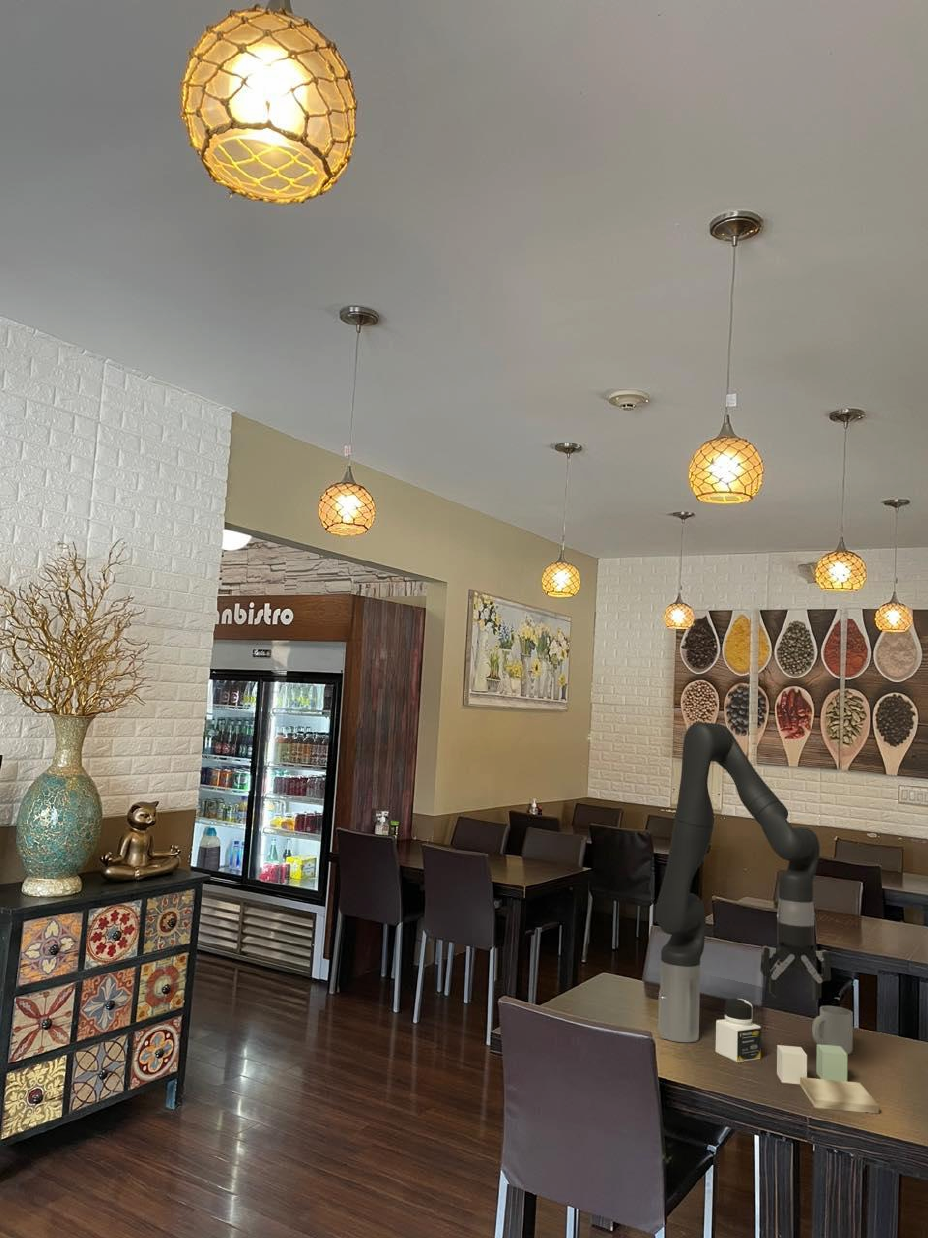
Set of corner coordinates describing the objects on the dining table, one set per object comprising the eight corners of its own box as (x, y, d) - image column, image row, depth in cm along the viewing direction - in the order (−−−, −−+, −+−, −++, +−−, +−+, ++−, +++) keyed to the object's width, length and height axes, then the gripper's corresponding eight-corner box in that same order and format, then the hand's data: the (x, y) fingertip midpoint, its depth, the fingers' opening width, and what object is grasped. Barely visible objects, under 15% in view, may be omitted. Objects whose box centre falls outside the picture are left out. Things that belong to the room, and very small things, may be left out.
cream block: (782, 1083, 195) (782, 1053, 196) (776, 1074, 200) (777, 1045, 201) (806, 1085, 194) (806, 1055, 195) (800, 1076, 199) (801, 1047, 200)
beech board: (815, 1108, 182) (815, 1100, 182) (800, 1085, 194) (800, 1077, 194) (878, 1114, 181) (878, 1105, 181) (859, 1090, 193) (859, 1083, 193)
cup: (859, 1054, 215) (859, 1014, 216) (822, 1056, 213) (823, 1016, 214) (838, 1044, 222) (838, 1005, 223) (802, 1046, 219) (803, 1006, 220)
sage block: (822, 1081, 197) (822, 1052, 198) (816, 1073, 202) (816, 1044, 203) (847, 1084, 196) (847, 1054, 197) (840, 1075, 201) (840, 1046, 202)
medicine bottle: (737, 1063, 205) (738, 1007, 207) (714, 1052, 212) (715, 998, 213) (761, 1059, 209) (762, 1004, 210) (738, 1049, 215) (739, 995, 216)
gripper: (765, 922, 199) (764, 1001, 197) (834, 927, 197) (834, 1006, 195) (758, 915, 206) (757, 991, 204) (824, 920, 205) (824, 996, 203)
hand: (795, 998), depth 200 cm, fingers open, 8 cm apart
